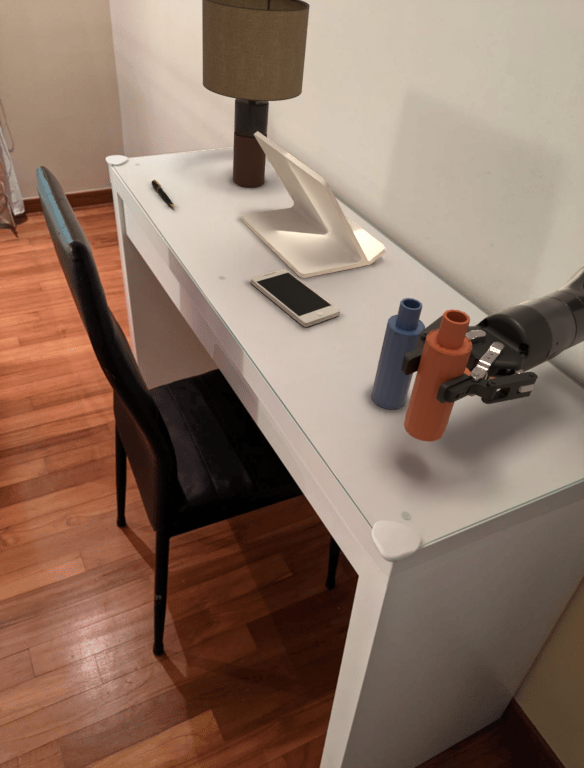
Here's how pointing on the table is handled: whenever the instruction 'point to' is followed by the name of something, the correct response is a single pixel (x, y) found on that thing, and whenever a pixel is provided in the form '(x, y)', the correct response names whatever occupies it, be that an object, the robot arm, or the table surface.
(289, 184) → the tablet stand
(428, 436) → the terracotta bottle
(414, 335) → the blue bottle
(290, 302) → the smartphone
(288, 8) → the lamp
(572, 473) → the table surface
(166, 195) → the fountain pen
